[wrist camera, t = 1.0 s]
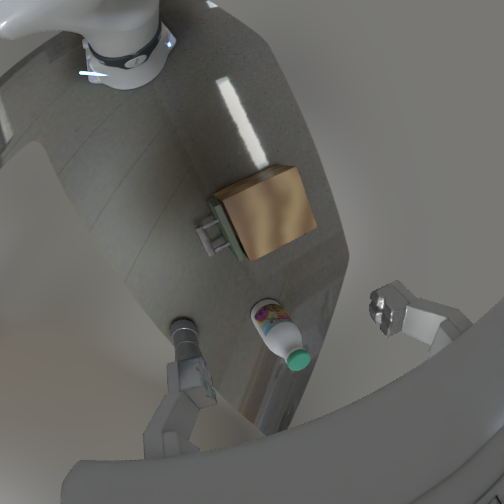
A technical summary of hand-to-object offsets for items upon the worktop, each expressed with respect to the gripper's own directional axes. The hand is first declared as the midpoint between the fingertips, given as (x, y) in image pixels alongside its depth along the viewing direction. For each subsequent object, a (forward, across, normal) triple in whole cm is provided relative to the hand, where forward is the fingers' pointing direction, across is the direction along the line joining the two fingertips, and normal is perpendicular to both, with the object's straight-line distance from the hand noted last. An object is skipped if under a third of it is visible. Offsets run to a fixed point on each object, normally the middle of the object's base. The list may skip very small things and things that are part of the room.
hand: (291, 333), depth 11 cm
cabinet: (+45, -8, +13) cm, 47 cm away
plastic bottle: (+39, +17, +34) cm, 54 cm away
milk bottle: (+40, -3, +39) cm, 56 cm away
